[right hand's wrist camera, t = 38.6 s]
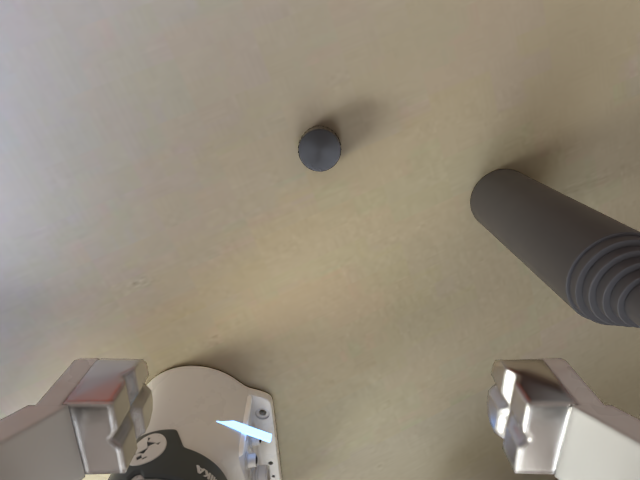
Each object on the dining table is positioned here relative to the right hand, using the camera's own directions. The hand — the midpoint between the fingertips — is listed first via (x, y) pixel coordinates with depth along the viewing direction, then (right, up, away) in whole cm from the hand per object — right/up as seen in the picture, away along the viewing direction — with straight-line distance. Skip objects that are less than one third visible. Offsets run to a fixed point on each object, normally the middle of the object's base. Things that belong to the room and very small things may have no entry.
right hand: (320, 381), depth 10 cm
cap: (0, +12, +31) cm, 33 cm away
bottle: (+18, +7, +34) cm, 40 cm away
